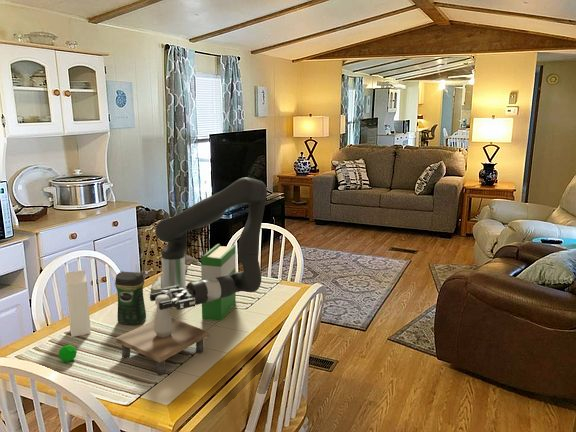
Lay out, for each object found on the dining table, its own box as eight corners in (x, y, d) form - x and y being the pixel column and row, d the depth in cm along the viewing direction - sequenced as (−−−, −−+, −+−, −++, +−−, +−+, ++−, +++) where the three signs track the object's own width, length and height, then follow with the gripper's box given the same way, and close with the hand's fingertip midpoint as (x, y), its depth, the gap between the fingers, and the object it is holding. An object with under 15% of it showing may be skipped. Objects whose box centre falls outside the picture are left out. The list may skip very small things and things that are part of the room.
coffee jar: (149, 317, 174) (147, 269, 170) (140, 326, 167) (137, 277, 162) (124, 315, 175) (121, 267, 171) (114, 324, 168) (111, 275, 164)
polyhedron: (68, 354, 147) (67, 340, 146) (80, 358, 145) (79, 344, 144) (55, 362, 142) (54, 348, 141) (67, 366, 141) (66, 351, 140)
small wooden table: (116, 356, 146) (115, 337, 145) (166, 332, 163) (165, 315, 161) (160, 378, 136) (159, 357, 134) (208, 350, 152) (208, 331, 150)
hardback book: (218, 300, 191) (217, 243, 186) (235, 302, 190) (235, 245, 184) (202, 318, 174) (201, 257, 169) (221, 321, 173) (220, 258, 167)
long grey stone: (192, 271, 228) (172, 271, 229) (192, 261, 227) (172, 261, 228) (168, 295, 194) (145, 295, 194) (168, 283, 193) (144, 283, 194)
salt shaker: (168, 340, 144) (166, 300, 141) (150, 338, 145) (149, 298, 142) (176, 331, 150) (175, 293, 147) (159, 329, 151) (158, 291, 148)
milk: (90, 333, 161) (86, 272, 156) (71, 337, 158) (66, 275, 153) (88, 326, 166) (84, 267, 161) (69, 329, 163) (64, 269, 158)
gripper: (194, 273, 158) (146, 283, 149) (214, 287, 147) (163, 298, 137) (194, 294, 160) (147, 305, 150) (214, 309, 149) (164, 322, 139)
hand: (154, 302), depth 144 cm, fingers open, 7 cm apart
